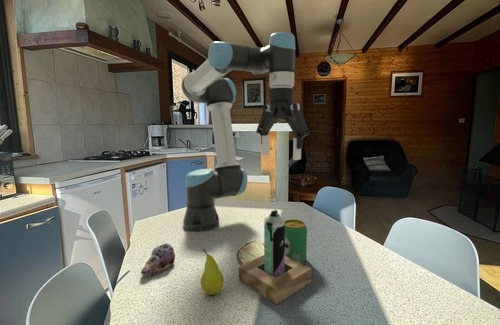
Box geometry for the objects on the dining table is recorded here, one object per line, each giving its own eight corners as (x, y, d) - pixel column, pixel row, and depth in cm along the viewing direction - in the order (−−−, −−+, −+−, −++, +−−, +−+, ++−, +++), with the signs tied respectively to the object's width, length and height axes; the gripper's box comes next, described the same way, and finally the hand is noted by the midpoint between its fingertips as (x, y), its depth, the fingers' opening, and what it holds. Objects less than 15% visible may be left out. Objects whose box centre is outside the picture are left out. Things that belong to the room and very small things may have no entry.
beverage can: (276, 256, 88) (276, 221, 86) (297, 251, 91) (297, 217, 89) (289, 268, 81) (289, 230, 79) (311, 262, 84) (312, 225, 82)
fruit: (227, 295, 68) (226, 250, 67) (206, 303, 65) (204, 256, 64) (217, 283, 73) (216, 241, 71) (197, 291, 70) (195, 247, 68)
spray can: (283, 288, 71) (284, 214, 68) (263, 285, 72) (262, 213, 69) (285, 276, 76) (285, 207, 74) (265, 274, 77) (265, 206, 75)
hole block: (238, 280, 75) (238, 266, 74) (273, 262, 84) (273, 250, 83) (276, 305, 64) (276, 289, 64) (311, 281, 74) (311, 268, 73)
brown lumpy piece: (150, 282, 74) (148, 261, 74) (131, 275, 78) (129, 255, 77) (180, 262, 85) (179, 244, 84) (162, 257, 89) (161, 239, 88)
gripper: (246, 90, 90) (246, 154, 93) (306, 83, 71) (304, 163, 74) (262, 91, 94) (262, 152, 98) (323, 85, 75) (320, 160, 79)
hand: (280, 157), depth 86 cm, fingers open, 13 cm apart
